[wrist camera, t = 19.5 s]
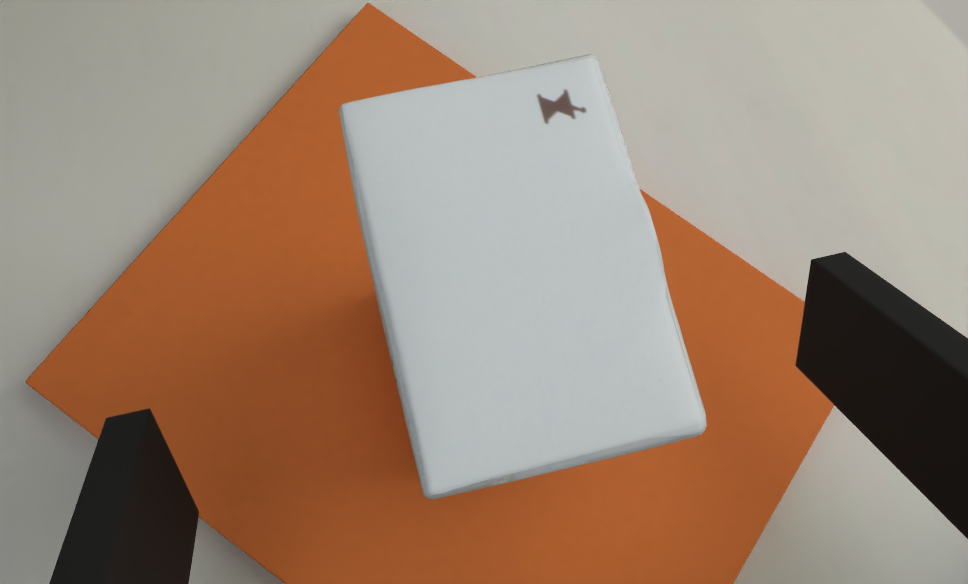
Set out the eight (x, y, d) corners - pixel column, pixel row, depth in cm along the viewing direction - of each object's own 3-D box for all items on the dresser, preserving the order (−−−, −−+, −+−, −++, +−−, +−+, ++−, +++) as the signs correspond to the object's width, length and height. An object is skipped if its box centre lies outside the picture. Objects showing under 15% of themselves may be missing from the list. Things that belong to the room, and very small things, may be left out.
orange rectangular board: (34, 384, 21) (23, 381, 21) (368, 12, 25) (367, 1, 24) (591, 814, 20) (597, 825, 19) (858, 348, 23) (869, 345, 23)
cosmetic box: (379, 288, 22) (329, 87, 10) (513, 259, 23) (606, 39, 11) (422, 487, 21) (418, 508, 9) (563, 451, 21) (727, 429, 10)
